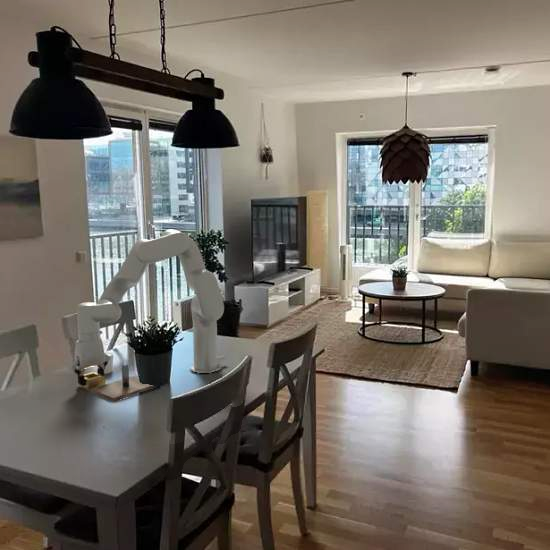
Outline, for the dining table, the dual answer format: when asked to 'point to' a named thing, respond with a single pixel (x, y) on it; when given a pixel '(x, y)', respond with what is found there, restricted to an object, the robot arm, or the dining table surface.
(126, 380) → the post
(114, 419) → the dining table surface
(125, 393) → the keeper board
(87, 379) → the brass link
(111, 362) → the white tapered cup
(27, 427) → the dining table surface
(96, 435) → the dining table surface
